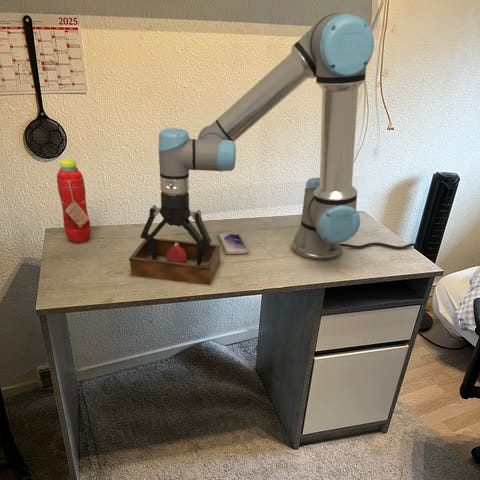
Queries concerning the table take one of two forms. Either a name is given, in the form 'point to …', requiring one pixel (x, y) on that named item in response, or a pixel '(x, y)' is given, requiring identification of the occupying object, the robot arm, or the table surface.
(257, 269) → the table surface
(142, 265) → the wooden box frame
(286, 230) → the table surface
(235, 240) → the smartphone
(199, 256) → the robot arm
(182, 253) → the pomegranate
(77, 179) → the water bottle
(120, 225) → the table surface
